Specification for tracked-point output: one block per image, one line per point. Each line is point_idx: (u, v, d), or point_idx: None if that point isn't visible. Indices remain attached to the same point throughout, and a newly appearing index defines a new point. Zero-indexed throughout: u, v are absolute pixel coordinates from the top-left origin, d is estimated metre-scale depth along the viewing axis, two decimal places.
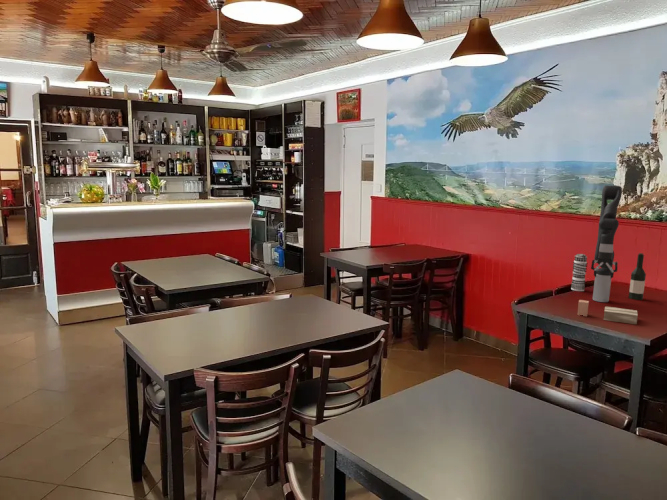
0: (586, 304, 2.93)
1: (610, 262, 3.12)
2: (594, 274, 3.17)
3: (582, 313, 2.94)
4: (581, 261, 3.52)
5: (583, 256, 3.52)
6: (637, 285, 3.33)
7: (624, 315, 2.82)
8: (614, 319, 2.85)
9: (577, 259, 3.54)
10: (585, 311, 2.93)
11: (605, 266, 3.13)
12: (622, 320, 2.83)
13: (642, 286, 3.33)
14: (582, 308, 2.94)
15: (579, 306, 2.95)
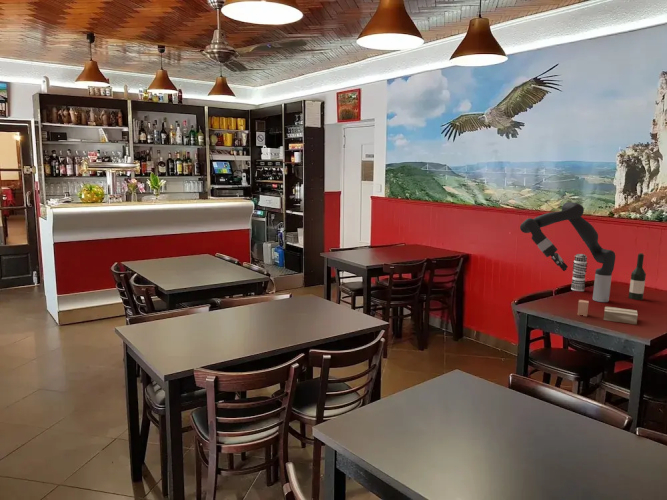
0: (586, 304, 2.93)
1: None
2: None
3: (582, 313, 2.94)
4: (581, 261, 3.52)
5: (583, 256, 3.52)
6: (637, 285, 3.33)
7: (624, 315, 2.82)
8: (614, 319, 2.85)
9: (577, 259, 3.54)
10: (585, 311, 2.93)
11: None
12: (622, 320, 2.83)
13: (642, 286, 3.33)
14: (582, 308, 2.94)
15: (579, 306, 2.95)
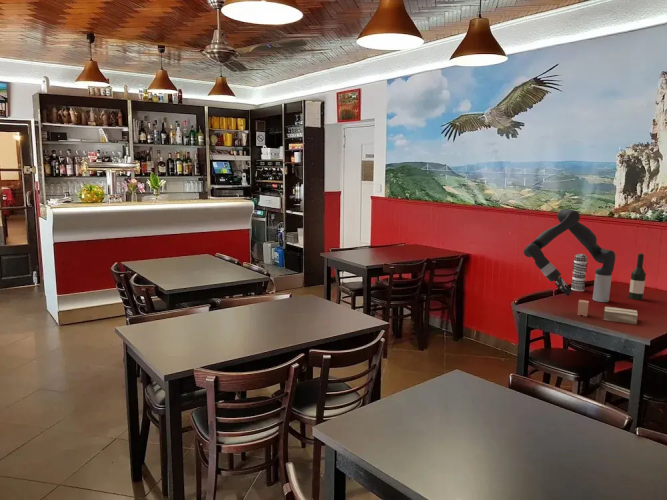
0: (586, 304, 2.93)
1: None
2: (568, 290, 3.03)
3: (582, 313, 2.94)
4: (581, 261, 3.52)
5: (583, 256, 3.52)
6: (637, 285, 3.33)
7: (624, 315, 2.82)
8: (614, 319, 2.85)
9: (577, 259, 3.54)
10: (585, 311, 2.93)
11: None
12: (622, 320, 2.83)
13: (642, 286, 3.33)
14: (582, 308, 2.94)
15: (579, 306, 2.95)
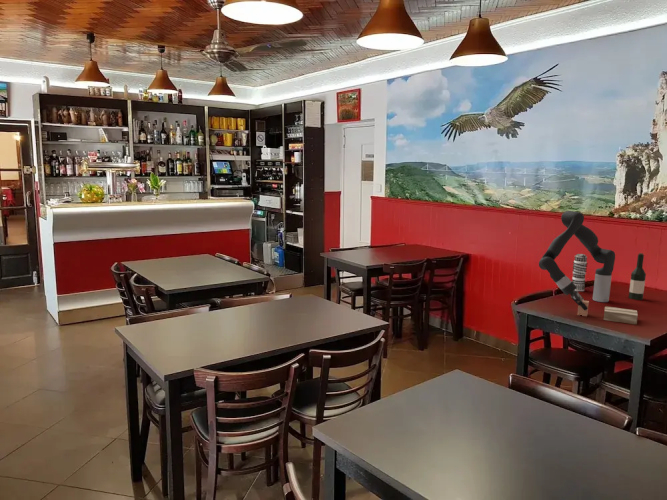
0: (586, 304, 2.93)
1: None
2: None
3: (582, 313, 2.94)
4: (581, 261, 3.52)
5: (583, 256, 3.52)
6: (637, 285, 3.33)
7: (624, 315, 2.82)
8: (614, 319, 2.85)
9: (577, 259, 3.54)
10: (585, 311, 2.93)
11: None
12: (622, 320, 2.83)
13: (642, 286, 3.33)
14: (582, 308, 2.94)
15: (579, 306, 2.95)
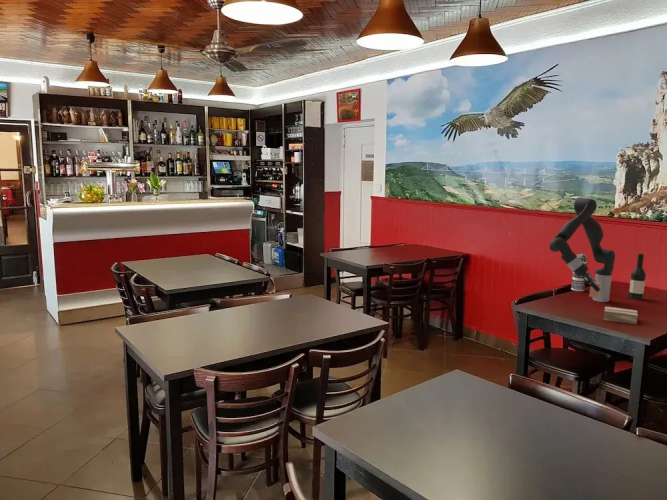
0: (599, 285, 2.88)
1: None
2: None
3: (594, 294, 2.90)
4: None
5: (583, 256, 3.52)
6: (637, 285, 3.33)
7: (624, 315, 2.82)
8: (614, 319, 2.85)
9: None
10: (597, 292, 2.89)
11: None
12: (622, 320, 2.83)
13: (642, 286, 3.33)
14: (594, 289, 2.90)
15: (591, 288, 2.91)
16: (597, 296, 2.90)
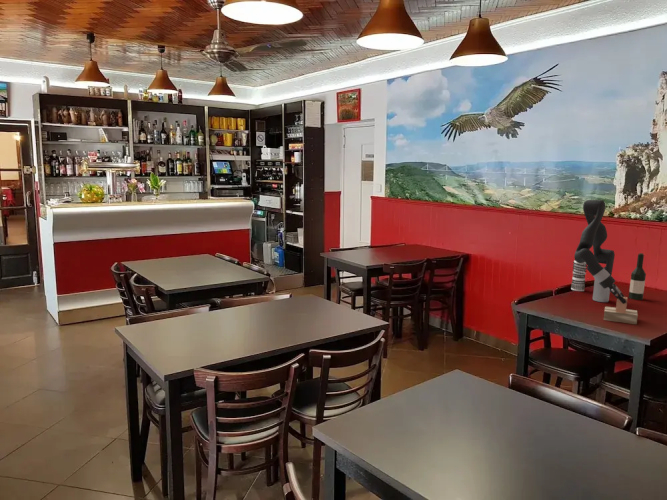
0: None
1: (610, 289, 2.85)
2: None
3: (621, 310, 2.84)
4: None
5: None
6: (637, 285, 3.33)
7: (624, 315, 2.82)
8: (614, 319, 2.85)
9: None
10: (624, 307, 2.84)
11: None
12: (622, 320, 2.83)
13: (642, 286, 3.33)
14: (620, 304, 2.84)
15: (617, 303, 2.85)
16: (624, 311, 2.84)
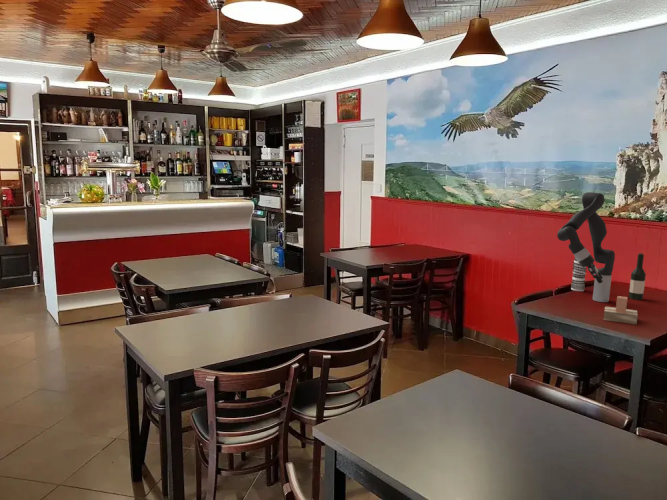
0: (625, 300, 2.83)
1: None
2: (598, 277, 2.97)
3: (621, 310, 2.84)
4: None
5: None
6: (637, 285, 3.33)
7: (624, 315, 2.82)
8: (614, 319, 2.85)
9: None
10: (624, 307, 2.84)
11: None
12: (622, 320, 2.83)
13: (642, 286, 3.33)
14: (620, 304, 2.84)
15: (617, 303, 2.85)
16: (624, 311, 2.84)
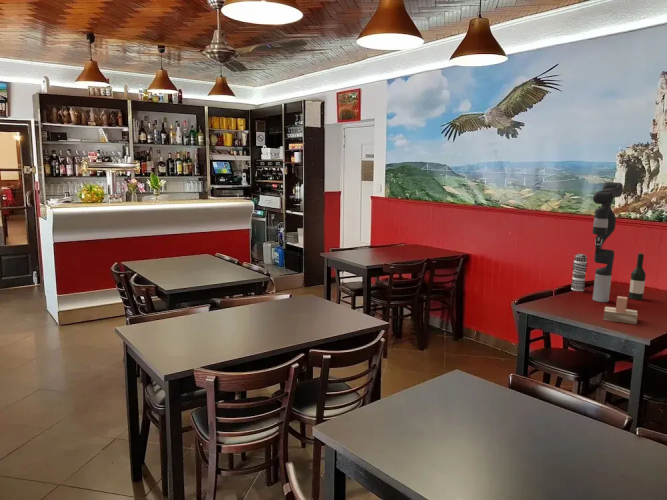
0: (625, 300, 2.83)
1: (596, 237, 2.98)
2: None
3: (621, 310, 2.84)
4: (581, 261, 3.52)
5: (583, 256, 3.52)
6: (637, 285, 3.33)
7: (624, 315, 2.82)
8: (614, 319, 2.85)
9: (577, 259, 3.54)
10: (624, 307, 2.84)
11: None
12: (622, 320, 2.83)
13: (642, 286, 3.33)
14: (620, 304, 2.84)
15: (617, 303, 2.85)
16: (624, 311, 2.84)
